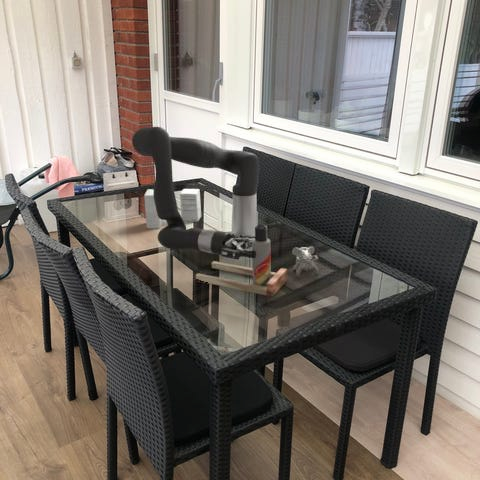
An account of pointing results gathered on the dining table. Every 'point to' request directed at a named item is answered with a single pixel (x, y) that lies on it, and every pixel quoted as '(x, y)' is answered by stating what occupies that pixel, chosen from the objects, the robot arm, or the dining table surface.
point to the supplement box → (190, 205)
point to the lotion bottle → (261, 256)
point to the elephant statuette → (305, 259)
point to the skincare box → (151, 211)
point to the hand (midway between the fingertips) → (261, 249)
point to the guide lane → (269, 290)
